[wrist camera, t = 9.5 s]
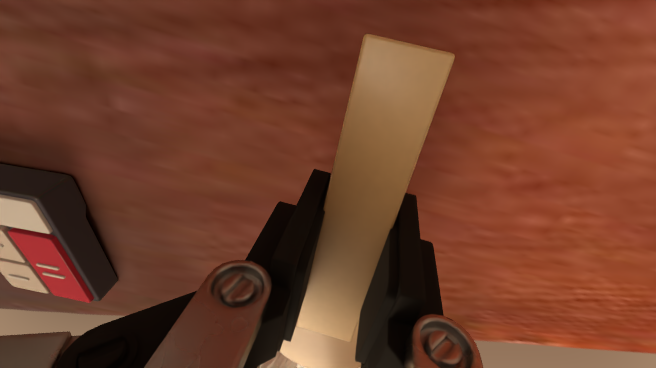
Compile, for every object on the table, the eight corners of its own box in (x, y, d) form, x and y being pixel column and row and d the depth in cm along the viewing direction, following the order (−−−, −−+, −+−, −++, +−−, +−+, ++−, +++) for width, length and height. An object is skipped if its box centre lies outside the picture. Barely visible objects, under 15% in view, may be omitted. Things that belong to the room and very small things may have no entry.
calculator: (8, 289, 35) (-84, 182, 27) (43, 261, 39) (-29, 157, 30) (95, 308, 34) (28, 202, 25) (123, 277, 38) (72, 174, 29)
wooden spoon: (323, 23, 8) (299, 17, 6) (485, 61, 8) (525, 70, 6) (268, 330, 14) (245, 388, 12) (363, 358, 14) (359, 424, 11)
